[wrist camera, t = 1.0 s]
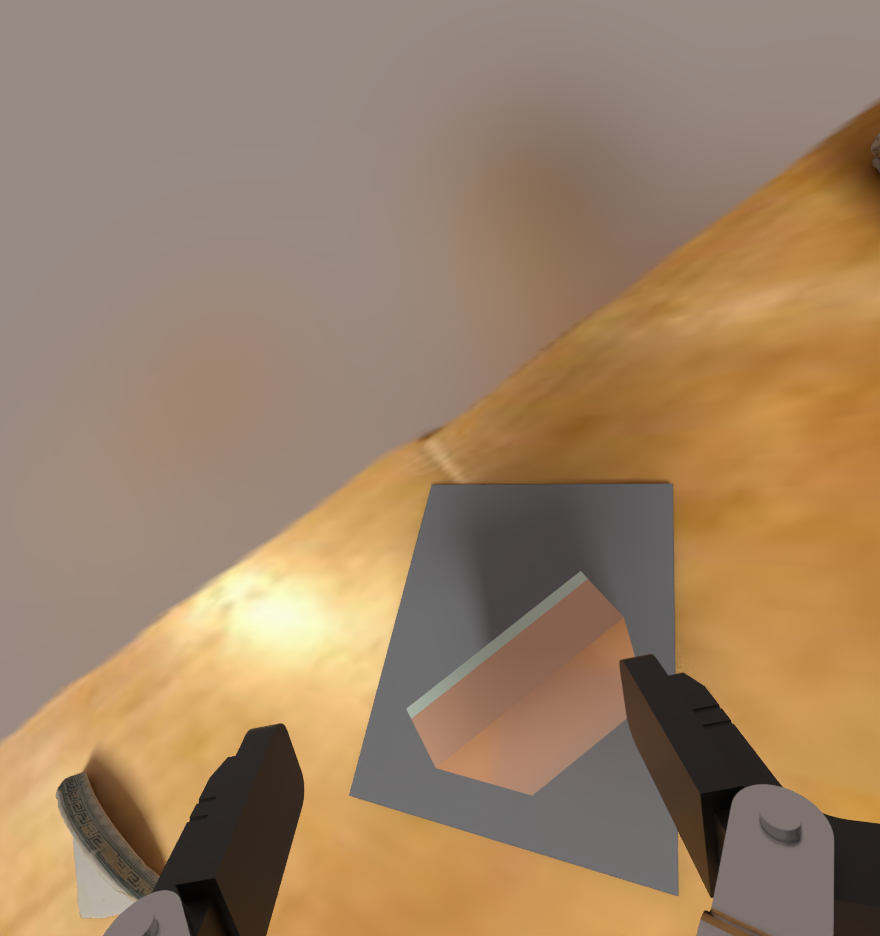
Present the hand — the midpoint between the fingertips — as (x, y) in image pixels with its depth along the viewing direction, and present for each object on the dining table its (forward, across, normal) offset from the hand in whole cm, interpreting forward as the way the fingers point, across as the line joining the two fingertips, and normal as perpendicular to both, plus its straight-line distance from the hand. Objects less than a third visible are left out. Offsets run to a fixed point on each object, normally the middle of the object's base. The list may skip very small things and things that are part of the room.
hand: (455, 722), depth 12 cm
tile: (+14, -5, +14) cm, 20 cm away
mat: (+19, -3, +11) cm, 22 cm away
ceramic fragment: (+18, +27, +20) cm, 38 cm away
